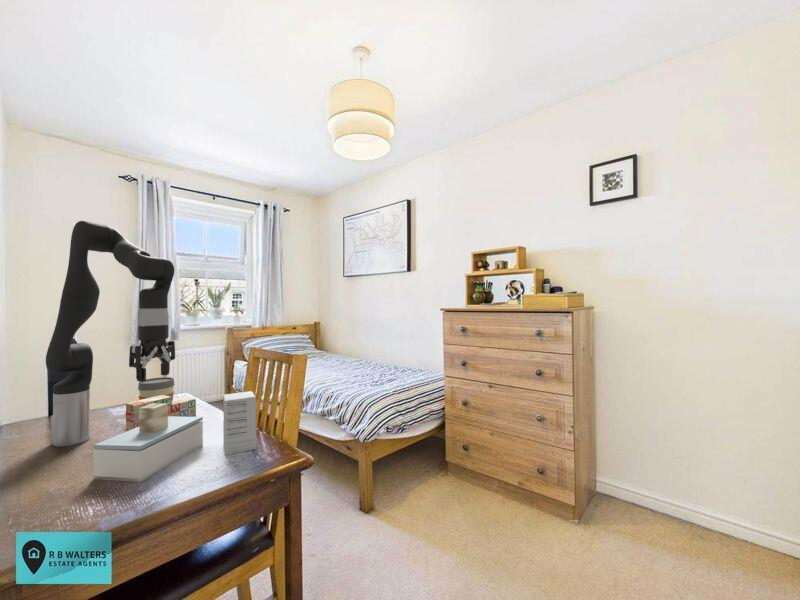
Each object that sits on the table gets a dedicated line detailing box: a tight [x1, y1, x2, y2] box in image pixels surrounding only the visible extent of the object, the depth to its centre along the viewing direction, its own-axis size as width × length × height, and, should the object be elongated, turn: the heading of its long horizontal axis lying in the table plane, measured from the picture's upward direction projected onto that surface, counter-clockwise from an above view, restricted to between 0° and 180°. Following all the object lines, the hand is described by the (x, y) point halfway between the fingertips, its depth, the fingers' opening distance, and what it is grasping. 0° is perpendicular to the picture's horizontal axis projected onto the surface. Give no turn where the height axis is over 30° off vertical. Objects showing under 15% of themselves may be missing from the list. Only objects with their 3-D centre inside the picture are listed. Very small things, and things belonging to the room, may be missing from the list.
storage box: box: [93, 420, 204, 483], centre depth 106 cm, size 14×24×8 cm, turn 173°
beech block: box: [139, 403, 168, 432], centre depth 106 cm, size 5×5×7 cm
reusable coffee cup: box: [137, 376, 175, 400], centre depth 148 cm, size 13×13×15 cm
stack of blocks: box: [125, 395, 197, 432], centre depth 133 cm, size 21×6×12 cm, turn 150°
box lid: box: [93, 416, 203, 450], centre depth 106 cm, size 14×24×1 cm, turn 173°
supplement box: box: [222, 391, 257, 456], centre depth 116 cm, size 10×9×17 cm
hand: (153, 378), depth 106 cm, fingers open, 8 cm apart
